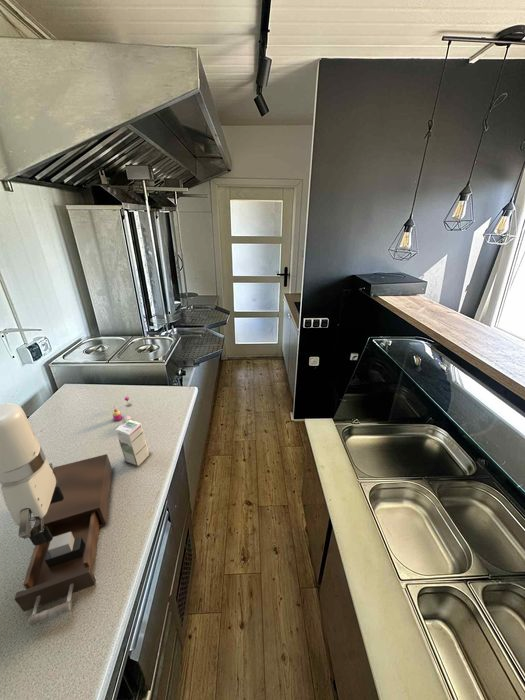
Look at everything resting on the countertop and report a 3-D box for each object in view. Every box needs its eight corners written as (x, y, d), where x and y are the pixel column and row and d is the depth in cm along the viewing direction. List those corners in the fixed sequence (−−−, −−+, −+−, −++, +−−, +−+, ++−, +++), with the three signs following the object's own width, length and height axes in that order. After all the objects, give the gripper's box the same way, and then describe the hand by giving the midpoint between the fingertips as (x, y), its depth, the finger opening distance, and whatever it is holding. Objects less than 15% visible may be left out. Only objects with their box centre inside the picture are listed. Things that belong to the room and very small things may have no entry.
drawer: (91, 611, 60) (84, 598, 58) (14, 642, 56) (3, 629, 53) (104, 512, 80) (99, 499, 77) (48, 529, 76) (41, 516, 73)
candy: (141, 425, 113) (138, 413, 111) (119, 434, 109) (115, 421, 106) (130, 403, 126) (127, 392, 124) (110, 410, 122) (107, 398, 120)
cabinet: (106, 524, 78) (99, 507, 74) (42, 544, 73) (32, 527, 70) (112, 469, 94) (107, 453, 91) (61, 483, 89) (53, 467, 86)
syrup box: (150, 454, 100) (142, 422, 93) (137, 467, 95) (128, 433, 89) (137, 450, 102) (128, 417, 95) (124, 462, 97) (114, 429, 90)
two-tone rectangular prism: (48, 568, 66) (39, 553, 64) (52, 555, 69) (43, 540, 66) (83, 556, 69) (75, 541, 66) (85, 544, 71) (78, 529, 68)
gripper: (14, 438, 61) (42, 493, 69) (-27, 509, 46) (15, 568, 54) (54, 429, 63) (77, 483, 71) (28, 494, 49) (60, 553, 56)
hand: (50, 520), depth 62 cm, fingers open, 9 cm apart
